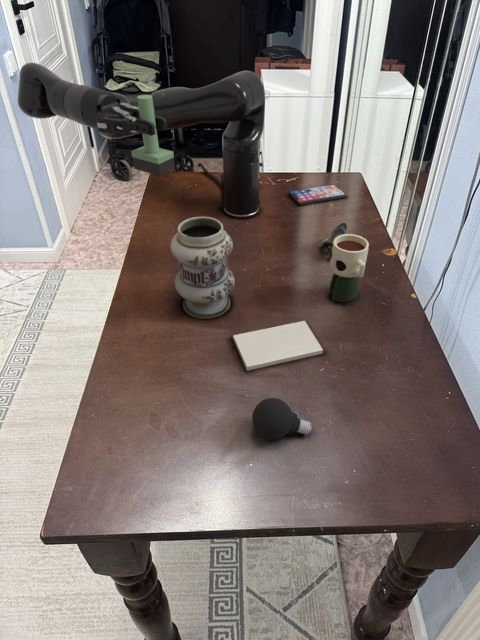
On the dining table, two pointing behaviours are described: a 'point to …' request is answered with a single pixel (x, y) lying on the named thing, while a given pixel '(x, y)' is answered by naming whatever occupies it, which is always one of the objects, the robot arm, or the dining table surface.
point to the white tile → (276, 345)
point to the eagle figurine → (329, 242)
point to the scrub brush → (151, 144)
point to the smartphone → (317, 194)
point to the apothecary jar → (203, 266)
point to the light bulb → (277, 419)
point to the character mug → (347, 266)
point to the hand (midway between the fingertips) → (159, 127)
